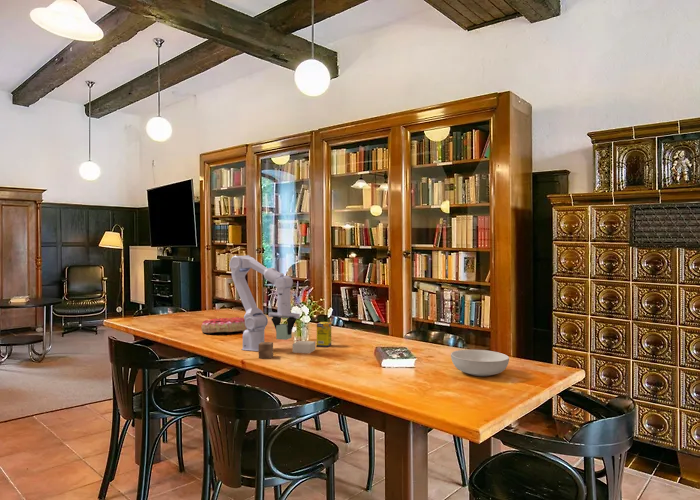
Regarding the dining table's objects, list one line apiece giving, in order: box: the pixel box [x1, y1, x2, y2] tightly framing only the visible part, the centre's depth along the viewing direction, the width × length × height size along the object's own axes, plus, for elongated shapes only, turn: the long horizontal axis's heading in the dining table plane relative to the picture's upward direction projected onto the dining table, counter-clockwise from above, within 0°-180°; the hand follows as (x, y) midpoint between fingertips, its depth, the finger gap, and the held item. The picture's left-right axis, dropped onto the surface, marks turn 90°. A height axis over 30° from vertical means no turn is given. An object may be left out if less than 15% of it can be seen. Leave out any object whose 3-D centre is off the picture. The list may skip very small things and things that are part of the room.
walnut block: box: [258, 341, 274, 360], centre depth 213 cm, size 5×5×6 cm
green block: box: [275, 323, 293, 341], centre depth 222 cm, size 5×5×6 cm
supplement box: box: [316, 321, 332, 348], centre depth 237 cm, size 6×6×11 cm
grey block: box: [292, 340, 316, 354], centre depth 225 cm, size 8×8×4 cm
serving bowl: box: [450, 349, 510, 377], centre depth 186 cm, size 21×21×7 cm
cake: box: [200, 316, 248, 335], centre depth 278 cm, size 25×25×8 cm
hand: (283, 333), depth 222 cm, fingers closed on green block, 5 cm apart
